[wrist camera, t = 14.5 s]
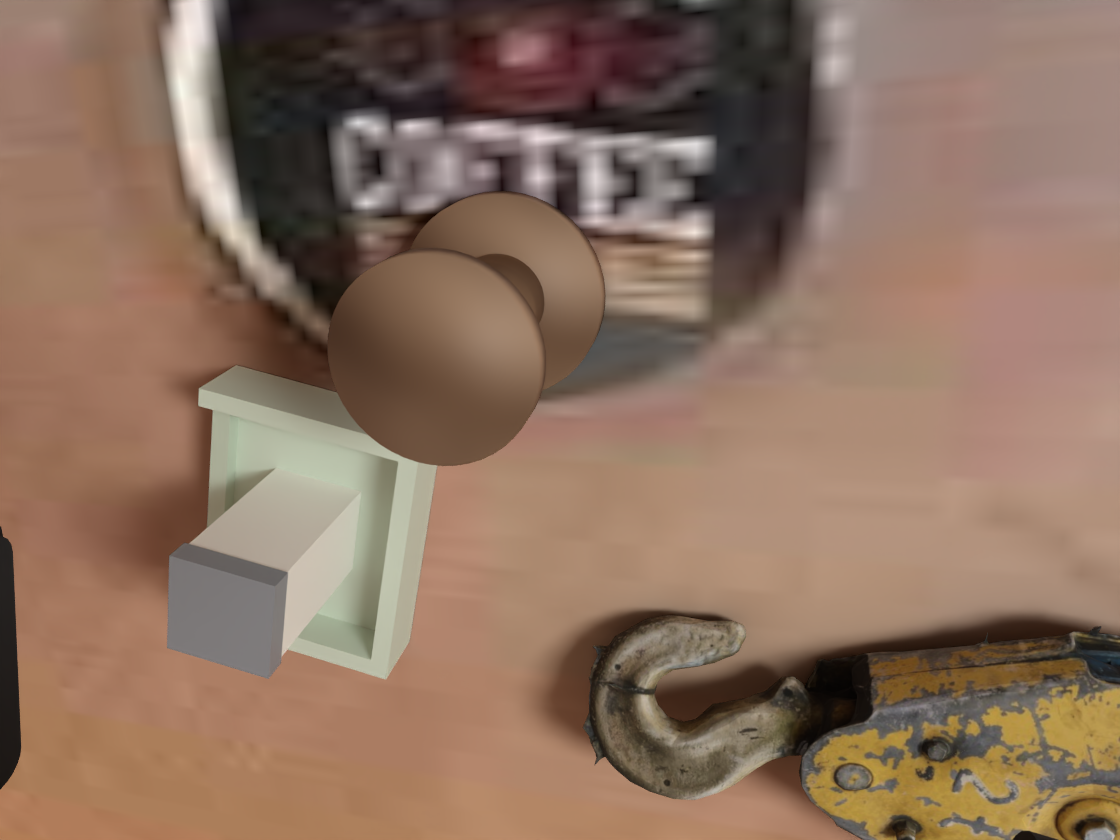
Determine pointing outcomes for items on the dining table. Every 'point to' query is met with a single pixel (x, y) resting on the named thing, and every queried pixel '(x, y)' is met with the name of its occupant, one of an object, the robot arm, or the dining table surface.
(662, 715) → the pulley block
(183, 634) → the white grey rectangular block
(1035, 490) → the dining table surface
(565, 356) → the knob
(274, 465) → the open tray
